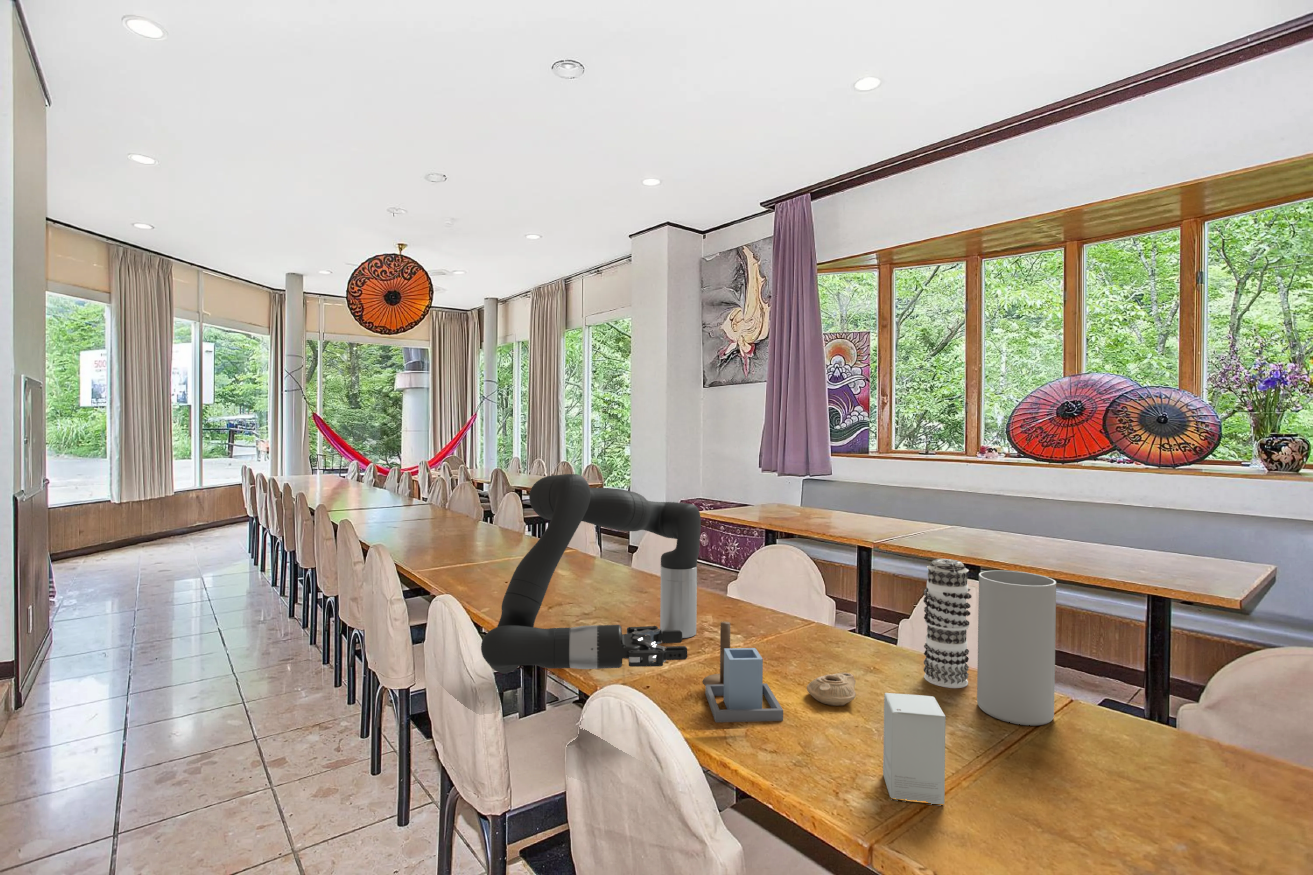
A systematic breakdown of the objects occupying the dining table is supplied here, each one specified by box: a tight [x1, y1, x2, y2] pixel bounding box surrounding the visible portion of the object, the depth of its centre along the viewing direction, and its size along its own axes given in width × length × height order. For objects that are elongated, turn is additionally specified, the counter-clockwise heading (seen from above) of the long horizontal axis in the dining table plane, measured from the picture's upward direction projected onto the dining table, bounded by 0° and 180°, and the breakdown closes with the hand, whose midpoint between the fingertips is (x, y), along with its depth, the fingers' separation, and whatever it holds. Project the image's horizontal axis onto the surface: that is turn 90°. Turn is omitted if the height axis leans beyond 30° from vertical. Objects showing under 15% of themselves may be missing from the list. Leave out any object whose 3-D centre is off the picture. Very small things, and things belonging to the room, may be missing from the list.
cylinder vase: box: [976, 570, 1057, 727], centre depth 120 cm, size 12×12×25 cm
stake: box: [702, 621, 731, 687], centre depth 131 cm, size 9×9×13 cm
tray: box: [704, 682, 784, 723], centre depth 119 cm, size 12×12×3 cm
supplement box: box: [882, 692, 947, 805], centre depth 94 cm, size 7×7×13 cm
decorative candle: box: [923, 558, 972, 689], centre depth 135 cm, size 9×9×25 cm
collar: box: [723, 647, 764, 710], centre depth 119 cm, size 6×6×10 cm
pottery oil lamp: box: [806, 672, 857, 707], centre depth 124 cm, size 9×12×7 cm
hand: (684, 644), depth 119 cm, fingers open, 8 cm apart
